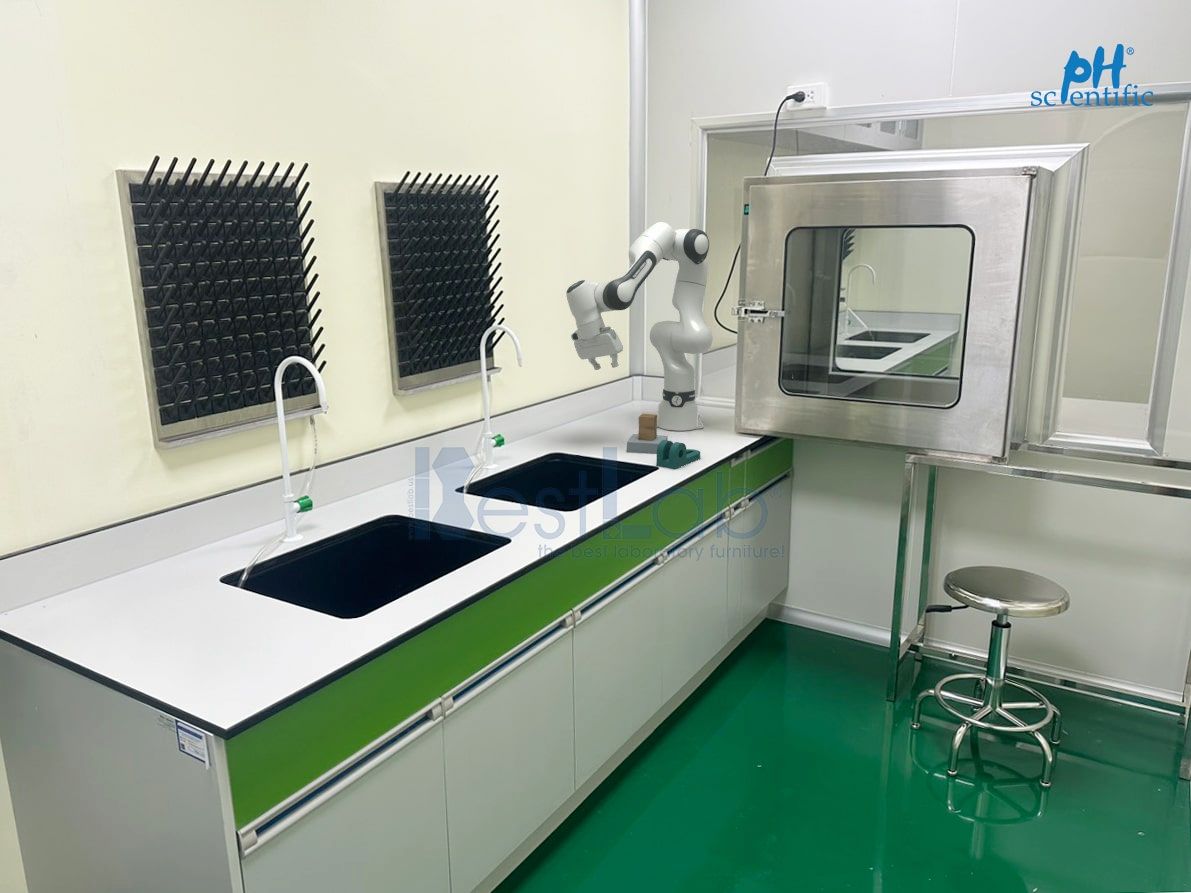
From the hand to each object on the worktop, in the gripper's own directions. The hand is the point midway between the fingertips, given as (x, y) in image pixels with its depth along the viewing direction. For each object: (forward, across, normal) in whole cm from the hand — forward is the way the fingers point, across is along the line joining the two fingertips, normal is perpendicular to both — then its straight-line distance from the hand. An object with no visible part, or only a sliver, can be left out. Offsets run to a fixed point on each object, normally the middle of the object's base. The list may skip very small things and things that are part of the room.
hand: (606, 368), depth 291 cm
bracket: (+33, -26, +6) cm, 42 cm away
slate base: (+30, -8, +2) cm, 31 cm away
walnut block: (+26, -9, +1) cm, 27 cm away
